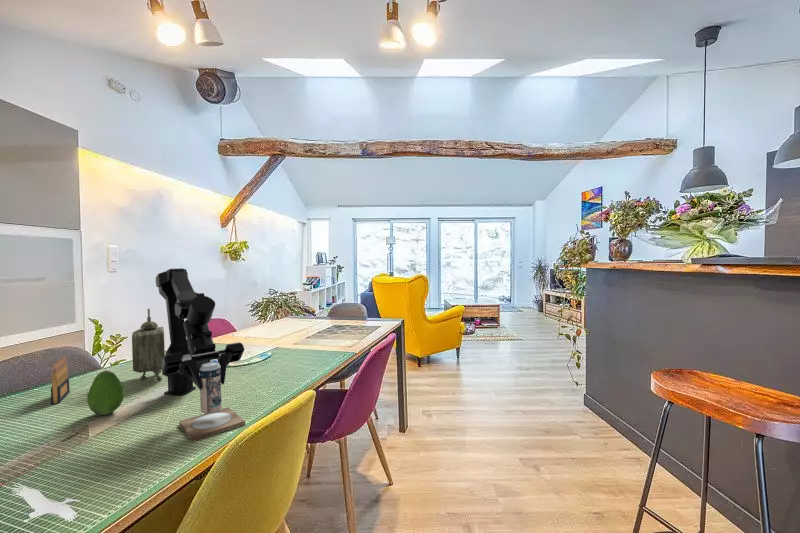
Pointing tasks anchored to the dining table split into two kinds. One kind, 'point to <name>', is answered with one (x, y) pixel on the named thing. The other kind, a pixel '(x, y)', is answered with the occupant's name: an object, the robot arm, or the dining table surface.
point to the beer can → (210, 387)
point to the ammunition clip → (59, 381)
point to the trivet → (211, 424)
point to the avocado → (105, 393)
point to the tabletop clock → (148, 348)
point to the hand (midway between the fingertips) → (212, 386)
